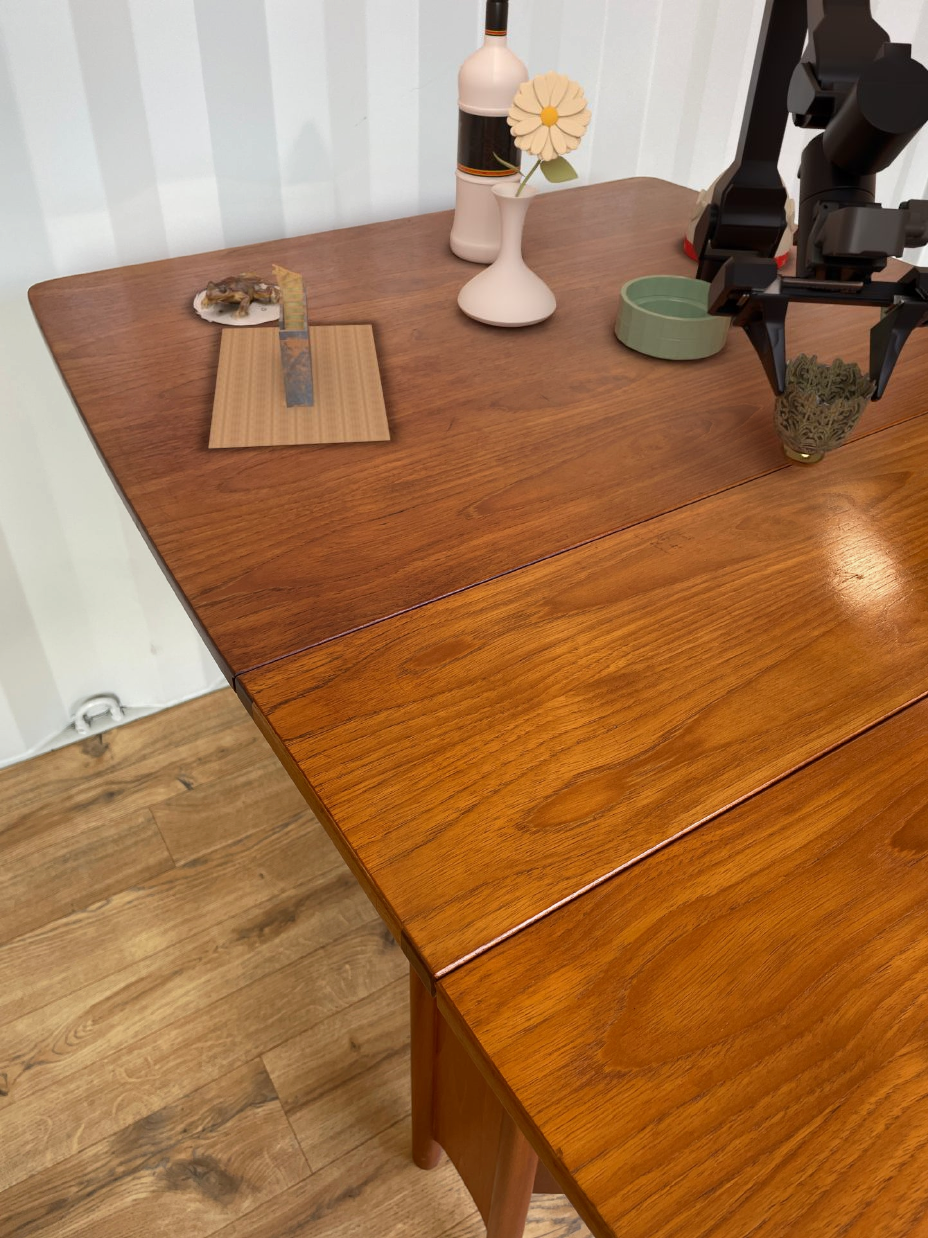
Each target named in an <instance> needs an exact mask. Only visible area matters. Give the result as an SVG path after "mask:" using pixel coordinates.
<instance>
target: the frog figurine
mask: <svg viewBox="0 0 928 1238" xmlns="http://www.w3.org/2000/svg"><path fill="white" fill-rule="evenodd" d="M206 287H207V288H204V289H203V290H201V292H198V293H196V294H195V297H194V300H193V308H194V309H195V313H196V314H198V315H199V316H200V318H201V319H203V320H206V321H208V322H209V323H213V322H215V323H219V324H223V325H229V326H252V325H253V326H254V325H255V326H256V325H260V324H264V323H266V322H267V323H268V322H272V321H276V320H279V311H280V297H279V292H280V287H279V284H274V285H270V284H269V285H268V284H265V283H264V279H263V277H262V276H261V275H259V274H258V273H256V272H255V270H251V269H250V270H248V271H246V272H242V273H240V274H239V275H237V276H236V277H234V276H231V275H230V276H227V277H225V278H223V279H221V281H218V282H213V280H210V281H208V282H207V285H206Z"/></svg>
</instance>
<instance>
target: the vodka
mask: <svg viewBox="0 0 928 1238" xmlns="http://www.w3.org/2000/svg"><path fill="white" fill-rule="evenodd" d="M509 1H510V0H486V2H485V15H484V16H485V20H484V21H485V22H484V36H483V44H482V46H481V47H479V48H478V49H477V50H476V51H475V52H473V53H472V54H471V55H470V56H468V57H467V58H466V59H464V61H463V62H462V64H461V65H460V67H459V70H458V73H457V90H458V91H457V92H458V98H457V100H456V101H457V102H456V103H457V106H458V111H457V113H458V115H457V145H456V146H457V147H456V150H457V151H456V169H455V171H454V174H455V205H454V206H455V207H454V216H453V221H452V227H451V230H450V234H449V246H450V250H451V251H452V253H453V254H454V255H456V256H457V257H459V258H460V259H461V260H463V261H467V262H470V263H474V264H483V265H492V264H493V263H494V262H495V261H496V260H497V258H498V256H499V252H500V247H501V231H502V229H501V215H500V209H499V205H498V202H497V200H496V198H495V196H494V194H493V193H492V191H491V188H492V187H493V186H494V185H497V184H500V183H521V181H522V177H523V176H522V175H521V174H519V173H518V172H516V171H514V170H513V169H511V168H509V167H507V166H505V165H504V164H502V163H501V162H499V161H498V160H497V159H496V157H495V155H496V156H497V157H498V158H500V159H501V160H503V161H504V162H507V163H509V164H511V165H513V166H514V167H516V168H517V169H518V170H519V171H520V172H521V173H522V171H521V169H522V157H523V156H522V155H523V151H522V150H521V149H520V148H518V147H516V146H515V143H514V141H515V139H516V137H515V136H513V135H512V134H511V132H510V131H511V128H512V127H513V126H510V125H509V124H508V123H507V118H508V117H509V114H508V112H509V109H510V108H512V107H511V104H512V102H513V101H514V97H515V95H517V91H518V90H519V87H520V84H521V83H523V82H525V83H527V82H528V81H530V77H529V72H528V69H527V67H526V65H525V63H524V62H523V60H521V59H520V58H519V57H518V56H517V55H516V54H515V53H514V51H512V50H511V49H510V48H509V47H508V45H507V43H508V41H507V40H508V38H507V37H508V22H509V5H510V3H509ZM493 152H494V153H495V155H494V153H493Z"/></svg>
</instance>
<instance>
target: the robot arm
mask: <svg viewBox="0 0 928 1238" xmlns="http://www.w3.org/2000/svg"><path fill="white" fill-rule="evenodd" d="M760 23H761V24H760V29H759V34H758V38H757V44H756V49H755V55H754V58H753V59H754V60H753V65H752V69H751V74H750V79H749V83H748V84H749V85H748V90H747V95H746V100H745V105H744V110H743V114H742V115H743V116H742V119H741V126H740V129H739V130H740V131H739V135H738V141H737V144H736V145H737V146H736V151H735V155H734V159H733V161H732V162H731V163H730V165H729V166H728V167H727V168H728V169H727V168H726V169H727V170H726V169H725V170H726V171H725V170H724V171H725V173H724V174H723V175H722V177H721V178H720V179H719V180H718V182H717V183H716V184H715V187H714V191H713V196H712V200H711V204H707V206H706V208H705V210H704V212H703V213H702V215H701V217H700V219H699V221H698V223H697V225H696V227H695V231H694V239H693V250H694V252H695V255H696V257H697V260H698V261H699V262H698V261H697V262H698V265H697V269H696V273H695V278H694V279H698V280H703V281H706V282H708V283H711V284H710V288H709V293H708V306H707V313H708V314H710V315H711V316H722V317H731V325H732V326H733V327H735V328H741V329H742V330H743V332H744V333H745V335H746V337H747V338H748V340H749V342H750V344H751V345H752V348H753V349H754V351H755V352H756V354H757V356H758V359H759V361H760V364H761V366H762V369H763V370H764V373H765V375H766V378H767V380H768V382H769V385H770V388H771V390H772V392H773V395H774V396H775V397H776V396H778V397H780V396H781V395H782V394H783V393H784V388H785V379H786V363H787V358H786V357H787V352H786V320H787V319H786V318H787V313H788V308H789V303H798V304H799V303H801V304H817V305H818V304H819V305H836V306H852V307H870V308H871V307H872V308H880V315H879V316H880V318H879V321H878V322H876V324H875V325H873V326H872V327H871V328H870V329H869V357H868V359H869V362H868V364H869V366H868V370H869V371H868V372H869V373H870V376H869V379H870V380H869V383H871V382H872V381H874V380H876V382H875V386H877V387H876V390H875V392H874V393H873V395H872V397H871V399H870V402H872V403H877V402H879V401H881V399H882V397H883V395H884V393H885V390H886V388H887V387H888V386H887V385H888V383H889V381H890V378H891V377H892V374H893V371H894V369H895V367H896V365H897V362H898V360H899V357H900V354H901V352H902V351H903V348H904V346H905V344H906V342H907V341H908V339H909V337H910V335H911V334H912V332H913V331H914V330H916V329H917V328H918V329H919V328H920V329H922V328H927V327H928V266H918V265H917V266H915V265H914V266H913V267H911V269H909V270H908V271H907V272H906V273H905V274H903V276H901V277H900V278H899V279H898V280H896V281H883V280H872V278H873V277H872V276H873V274H874V273H881V272H883V271H884V270H885V268H887V267H888V258H892V257H895V258H896V259H901V258H903V257H904V251H905V249H918V248H923V247H925V246H927V245H928V199H917V198H910V199H908V200H907V201H906V200H905V201H904V200H903V201H901V202H900V203H899V205H898V208H890V207H889V208H888V207H883V206H882V204H883V203H882V202H876V191H877V190H876V189H877V188H876V187H877V174H878V173H881V172H883V171H884V170H886V169H887V168H889V167H890V166H891V165H892V164H893V162H894V161H895V160H896V159H897V158H898V157H899V155H900V154H901V153H902V152H903V151H904V150H905V149H906V147H907V146H908V145H909V143H911V141H912V140H913V139H914V137H915V136H916V135H917V134H918V133H919V132H920V131H921V130H922V128H924V126H925V125H926V124H927V122H928V68H927V67H926V66H924V65H923V64H922V63H921V62H920V61H918V60H916V59H914V58H913V57H912V51H913V50H912V49H913V48H912V47H913V44H912V43H909V42H892V41H891V36H890V35H889V33H888V31H886V30H885V29H884V28H883V27H882V25H880V24H879V23H878V21H876V20H875V19H874V18H873V15H872V9H871V0H765V2H764V9H763V14H762V19H761V22H760ZM806 39H807V44H806V46H805V43H806ZM804 47H805V48H804ZM790 114H791V120H792V124H793V125H794V127H796V128H799V129H803V130H805V129H806V130H823V131H822V132H820V133H818V134H817V135H815V136H814V137H812V138H811V140H810V141H808V143H807V144H806V146H805V147H804V148H803V150H802V151H801V157H800V164H799V167H798V170H797V173H796V177H797V179H798V180H799V193H798V195H799V196H798V214H797V215H798V216H797V228H796V230H794V231H793V233H792V246H793V247H796V255H795V256H796V257H795V274H794V275H795V276H793V275H783V274H781V273H778V271H779V270H778V269H779V268H778V264H777V263H776V261H775V259H773V258H774V257H775V254H776V252H777V249H778V247H779V244H780V242H781V239H782V237H783V234H784V232H785V230H786V228H787V225H788V222H787V221H786V210H785V208H784V207H785V204H786V200H787V192H786V188H787V187H786V188H785V187H783V184H782V180H781V177H782V176H781V174H780V172H779V169H778V165H779V160H780V156H781V153H782V147H783V143H784V138H785V134H786V130H787V129H786V128H787V124H788V120H789V116H790ZM780 176H781V177H780ZM709 240H710V242H709Z"/></svg>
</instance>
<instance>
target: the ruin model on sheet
mask: <svg viewBox="0 0 928 1238" xmlns="http://www.w3.org/2000/svg"><path fill="white" fill-rule="evenodd" d="M272 268H275V269H274V270H271V272H272V273H271V274H272V275H275V277H276V278H275V279H276V282H277V285H278V286H279V287H280V292H279V297H280V311H279V319H278V326H271V327H270V326H268V327H235V328H233V327H232V328H230V327H229V328H222V329H221V339H220V348H219V355H218V366H217V373H216V383H215V390H214V397H213V398H214V399H213V407H212V416H211V425H210V432H209V439H208V449H224V448H226V449H227V448H228V449H229V448H247V447H271V446H292V445H294V446H295V445H313V444H315V445H316V444H332V443H333V444H335V443H358V442H360V443H361V442H363V443H364V442H378V441H379V442H382V441H384V442H385V441H391V436H390V435H391V434H390V429H389V423H388V418H387V411H386V406H385V399H384V393H383V387H382V382H381V374H380V370H379V363H378V356H377V351H376V350H377V349H376V345H375V339H374V333H373V332H374V331H373V327H372V324H345V325H343V324H341V325H338V324H337V325H310V322H309V321H310V320H309V309H308V308H309V307H308V297H307V286H306V285H307V284H306V281H303V274H301V273H297V272H294V271H291V270H289V269H287V268H285V267H282V266H280V265H277V264H275V263H272Z"/></svg>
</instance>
